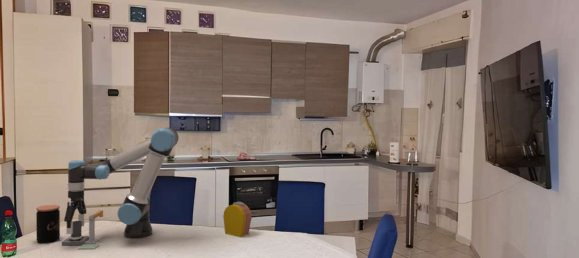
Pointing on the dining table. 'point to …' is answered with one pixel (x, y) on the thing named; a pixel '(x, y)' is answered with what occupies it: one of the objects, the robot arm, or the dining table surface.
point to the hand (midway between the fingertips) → (75, 230)
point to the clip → (96, 215)
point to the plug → (76, 231)
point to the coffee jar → (48, 223)
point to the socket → (83, 237)
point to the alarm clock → (237, 219)
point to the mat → (88, 246)
